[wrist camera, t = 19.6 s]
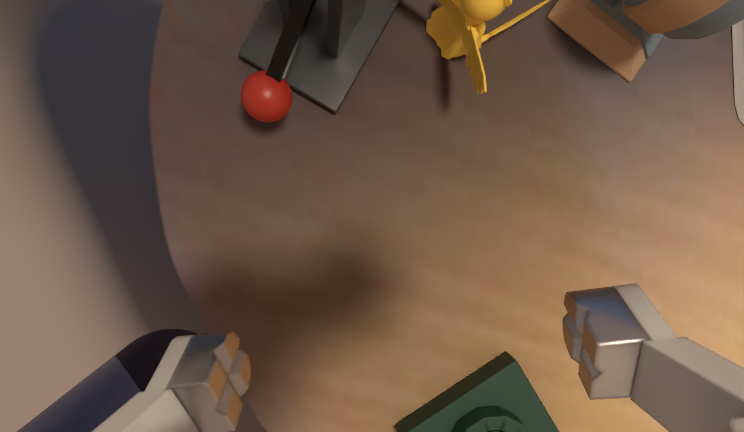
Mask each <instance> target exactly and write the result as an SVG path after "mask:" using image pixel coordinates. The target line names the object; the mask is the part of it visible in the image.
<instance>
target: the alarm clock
mask: <svg viewBox="0 0 744 432" xmlns="http://www.w3.org/2000/svg"><path fill="white" fill-rule="evenodd" d="M546 18H548V19H549V20H550V21H551V22H553V23H554V24H555V25H556V26H558V27H559V28H560V29H561V30H563V31H564V32H565V33H566V34H568V35H569V36H570V37H572V38H573V39H574V40H575V41H577V42H578V43H579V44H580V45H582V46H583V47H584V48H585V49H587V50H588V51H589V52H591V53H592V54H593V55H594V56H596V57H597V58H598V59H599V60H601V61H602V62H603V63H605V64H606V65H607V66H608V67H610V68H611V69H612V70H613V71H615V72H616V73H617V74H618V75H620V76H621V77H622V78H624V79H625V80H626V81H627V82H629V83H630V82H631V81H632V79H633V78H634V76H635V75H636V73H637V72H638V70H639V69H640V67H641V66H642V64H643V63H644V61H645V60H646V59H648V58H649V57H650V55H651V54H652V52H653V51H654V49H655V48H656V46H657V45H658V43H659V42H660V40H661V39H662V38H663V36H664V35H665V36H666V37H668V38H670V39H699V38H703V37H706V36H709V35H712V34H715V33H717V32H720V31H722V30H724V29H726V28H728V27H730V26H732V25H734V24H736V23H738V22H740V21H742V20H743V19H744V0H558V1H557V2H556V4H555V5H554V7H553V8H552V10H551V11H550V13H549V14H548V16H547V17H546Z"/></svg>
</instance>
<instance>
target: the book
mask: <svg viewBox="0 0 744 432" xmlns="http://www.w3.org/2000/svg"><path fill="white" fill-rule="evenodd" d="M732 49H733V78H734V103H735V107H736V111H737V115H738V119H739V120H740V121H741V123H742V124H743V125H744V19H743V20H742V21H740V22H738V23H736V24H734V25H732Z"/></svg>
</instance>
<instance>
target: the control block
mask: <svg viewBox="0 0 744 432" xmlns="http://www.w3.org/2000/svg"><path fill="white" fill-rule="evenodd" d="M397 428H398V431H399V432H493V431H498V432H559V431H558V429H557V427H556V426H555V424H554V422H553V421H552V419H551V417H550V416H549V414H548V412H547V411H546V409H545V407H544V406H543V404H542V402H541V401H540V399H539V397H538V396H537V394H536V392H535V390H534V389H533V387H532V385H531V384H530V382H529V380H528V379H527V377H526V375H525V374H524V372H523V370H522V369H521V367H520V365H519V364H518V362H517V361H516V360H515V359H514V358H513V357H512V356H511V355H510V354H509V353H507V352H505V353H503V354H502V355H500V356H499V357H497V358H496V359H494V360H492V361H491V362H489V363H488V364H486V365H485V366H483V367H482V368H480V369H479V370H477V371H476V372H474V373H473V374H471V375H470V376H468V377H467V378H465V379H464V380H462V381H461V382H459V383H458V384H456V385H455V386H453V387H452V388H450V389H449V390H447V391H446V392H444V393H443V394H441V395H439V396H438V397H436V398H435V399H433V400H432V401H430V402H429V403H427V404H426V405H424V406H423V407H421V408H420V409H418V410H417V411H415V412H414V413H412V414H411V415H409V416H408V417H406V418H405V419H403V420H402V421H400V422H399V423H397Z"/></svg>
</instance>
